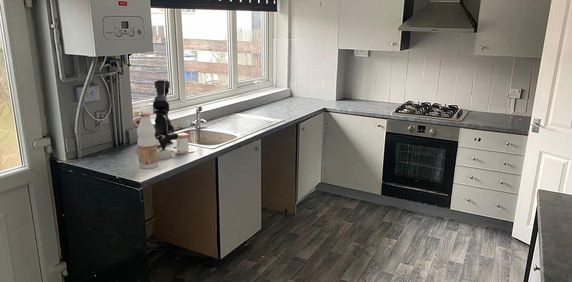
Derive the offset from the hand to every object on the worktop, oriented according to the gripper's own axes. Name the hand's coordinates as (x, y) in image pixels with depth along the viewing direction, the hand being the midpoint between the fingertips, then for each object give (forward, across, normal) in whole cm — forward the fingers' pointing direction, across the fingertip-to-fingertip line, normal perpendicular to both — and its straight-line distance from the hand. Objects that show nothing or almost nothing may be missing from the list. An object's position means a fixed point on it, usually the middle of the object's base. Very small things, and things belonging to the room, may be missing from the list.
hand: (163, 149), depth 240 cm
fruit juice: (+4, +6, -16) cm, 18 cm away
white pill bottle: (+4, +2, +13) cm, 13 cm away
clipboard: (+4, 0, +13) cm, 14 cm away
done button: (+2, 0, 0) cm, 2 cm away
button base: (+4, 0, 0) cm, 4 cm away
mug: (+4, -20, +11) cm, 23 cm away
